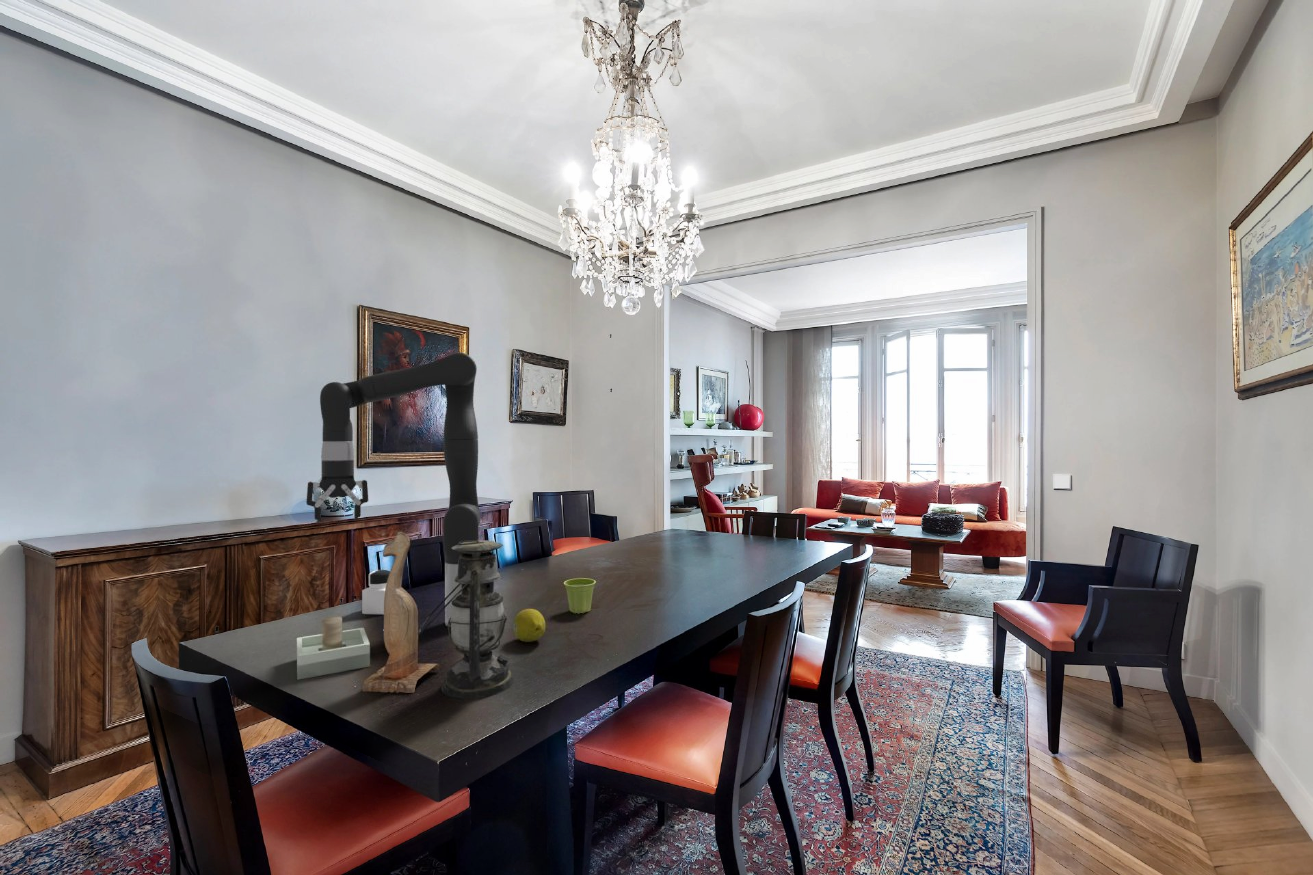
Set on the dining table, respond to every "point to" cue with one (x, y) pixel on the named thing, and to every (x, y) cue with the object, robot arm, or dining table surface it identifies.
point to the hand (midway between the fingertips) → (338, 520)
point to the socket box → (332, 654)
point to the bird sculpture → (399, 630)
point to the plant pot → (579, 594)
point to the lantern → (476, 625)
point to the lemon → (529, 625)
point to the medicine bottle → (375, 593)
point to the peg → (331, 633)
